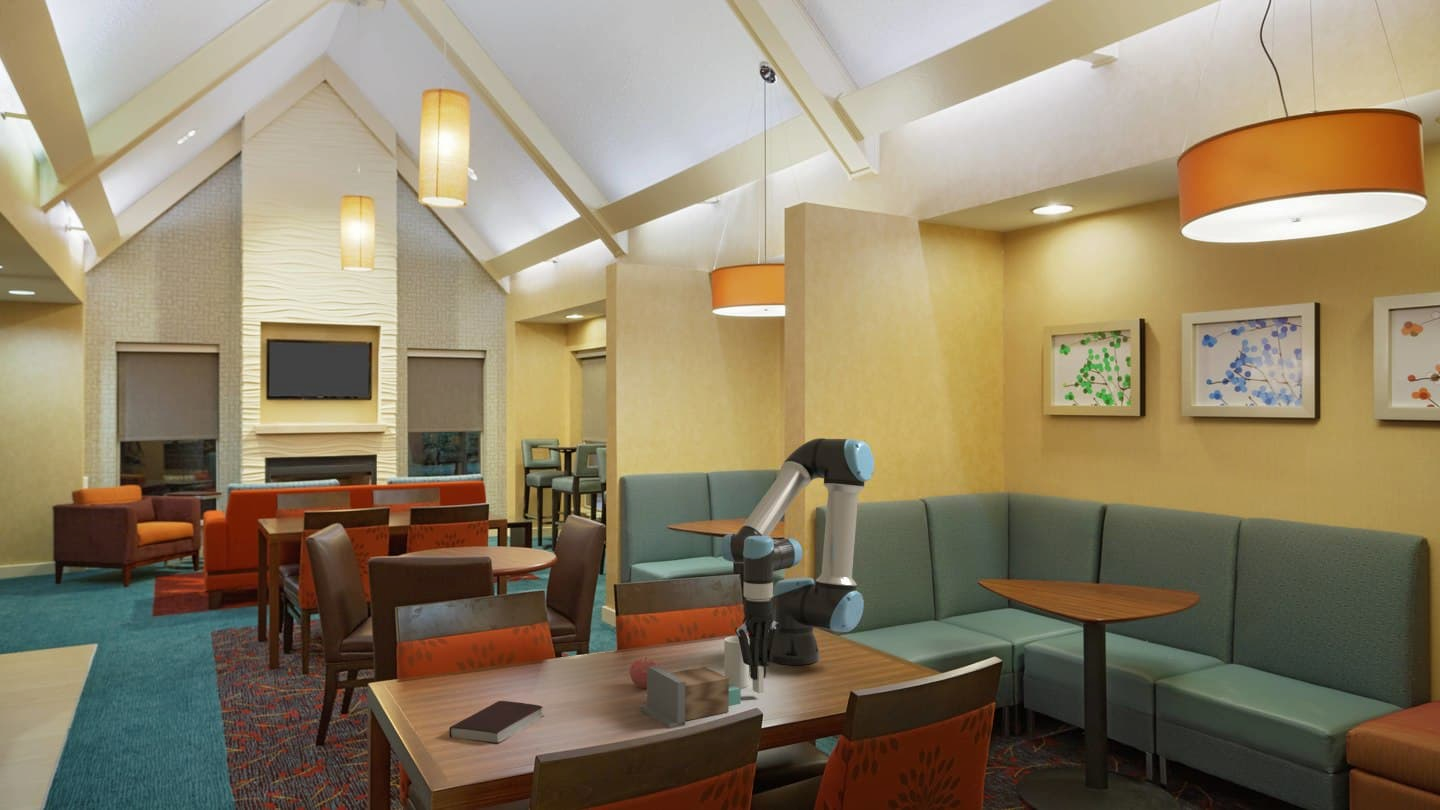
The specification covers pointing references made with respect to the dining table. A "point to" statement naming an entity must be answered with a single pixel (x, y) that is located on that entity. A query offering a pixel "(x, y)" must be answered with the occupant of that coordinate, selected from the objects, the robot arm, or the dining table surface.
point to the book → (496, 722)
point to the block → (704, 692)
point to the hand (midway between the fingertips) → (758, 691)
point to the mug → (735, 663)
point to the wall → (665, 697)
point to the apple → (641, 671)
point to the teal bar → (734, 695)
